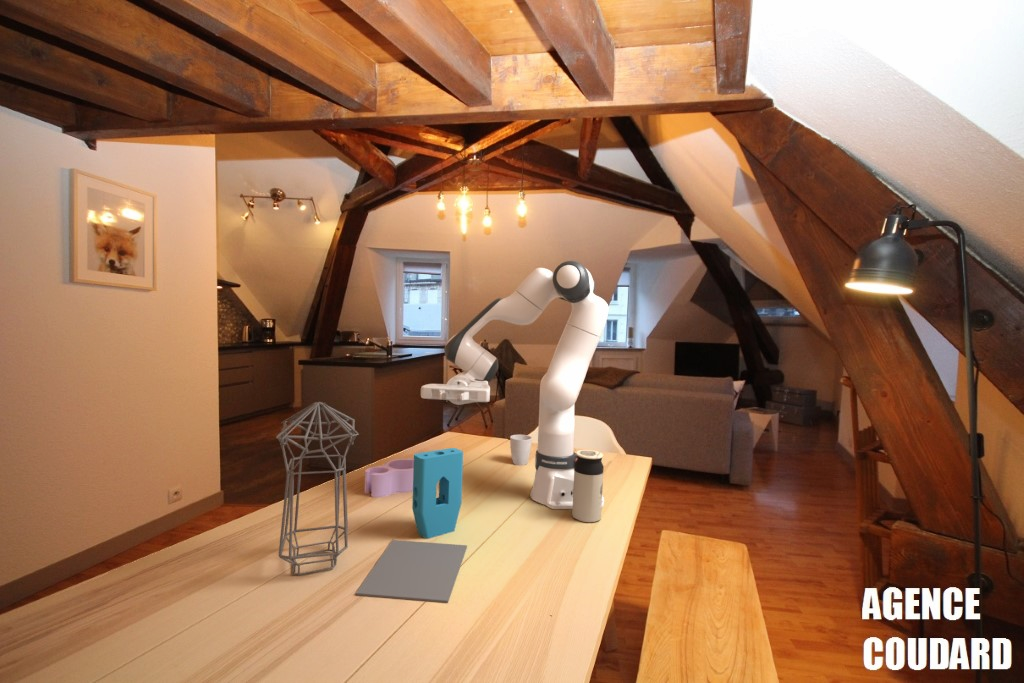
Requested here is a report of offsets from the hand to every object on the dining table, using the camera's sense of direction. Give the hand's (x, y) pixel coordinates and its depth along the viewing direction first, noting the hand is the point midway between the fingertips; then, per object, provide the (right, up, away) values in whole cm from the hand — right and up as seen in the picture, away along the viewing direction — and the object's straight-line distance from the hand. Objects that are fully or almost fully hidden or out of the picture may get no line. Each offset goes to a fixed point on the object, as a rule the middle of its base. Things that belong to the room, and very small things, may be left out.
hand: (451, 397), depth 130 cm
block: (-2, -33, -12) cm, 35 cm away
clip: (-19, -31, +18) cm, 41 cm away
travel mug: (+38, -34, +1) cm, 51 cm away
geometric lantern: (-26, -33, -29) cm, 51 cm away
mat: (-4, -33, -30) cm, 45 cm away
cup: (+20, -31, +47) cm, 60 cm away
